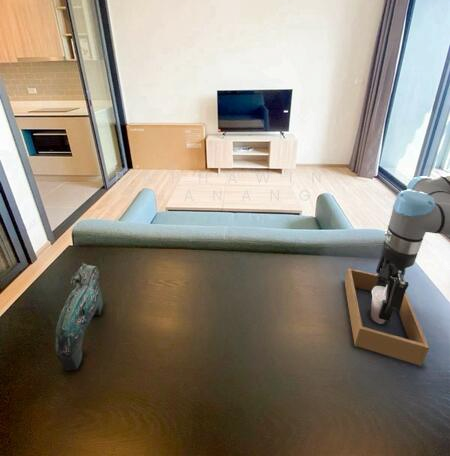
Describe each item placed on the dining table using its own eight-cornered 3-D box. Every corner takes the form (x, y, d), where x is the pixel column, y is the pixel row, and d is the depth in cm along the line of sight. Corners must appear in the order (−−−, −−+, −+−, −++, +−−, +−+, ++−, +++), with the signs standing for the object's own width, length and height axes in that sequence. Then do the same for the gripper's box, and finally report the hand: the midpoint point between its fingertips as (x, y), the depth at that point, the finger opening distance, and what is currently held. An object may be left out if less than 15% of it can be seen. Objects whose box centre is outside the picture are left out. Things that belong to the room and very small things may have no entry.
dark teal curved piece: (91, 302, 79) (78, 253, 72) (111, 300, 80) (100, 252, 73) (57, 374, 61) (35, 319, 54) (84, 372, 61) (66, 316, 54)
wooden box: (395, 295, 82) (400, 279, 80) (421, 366, 63) (429, 348, 60) (344, 283, 87) (348, 267, 84) (354, 345, 67) (359, 328, 65)
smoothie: (363, 318, 75) (372, 284, 70) (368, 304, 79) (378, 271, 74) (387, 333, 70) (399, 297, 65) (392, 317, 75) (403, 283, 70)
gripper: (375, 222, 75) (360, 279, 83) (395, 269, 57) (374, 335, 66) (404, 226, 72) (386, 284, 81) (433, 277, 55) (406, 344, 63)
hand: (380, 307), depth 73 cm, fingers closed on smoothie, 6 cm apart
